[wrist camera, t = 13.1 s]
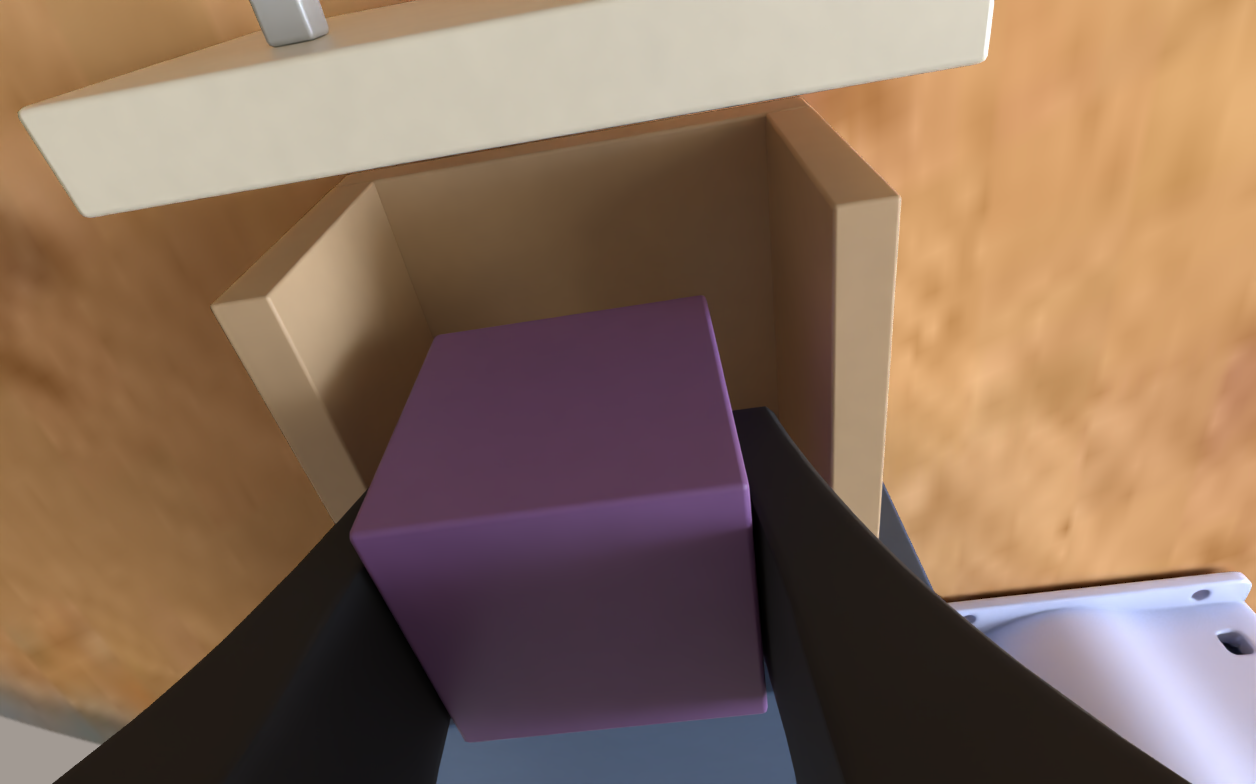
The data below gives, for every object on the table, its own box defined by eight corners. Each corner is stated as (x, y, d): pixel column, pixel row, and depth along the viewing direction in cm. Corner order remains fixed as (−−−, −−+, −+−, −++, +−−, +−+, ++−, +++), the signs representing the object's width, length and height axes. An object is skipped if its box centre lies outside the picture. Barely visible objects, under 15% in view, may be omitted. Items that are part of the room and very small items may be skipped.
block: (705, 292, 10) (749, 484, 6) (728, 496, 12) (769, 715, 9) (433, 333, 10) (344, 536, 7) (505, 523, 12) (464, 745, 9)
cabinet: (431, 460, 18) (336, 738, 12) (848, 404, 18) (974, 673, 11) (540, 713, 26) (515, 970, 19) (841, 683, 25) (916, 942, 18)
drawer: (79, -383, 9) (-525, -716, 4) (844, -576, 8) (1161, -1262, 3) (457, 508, 18) (401, 716, 14) (833, 459, 17) (913, 664, 13)
